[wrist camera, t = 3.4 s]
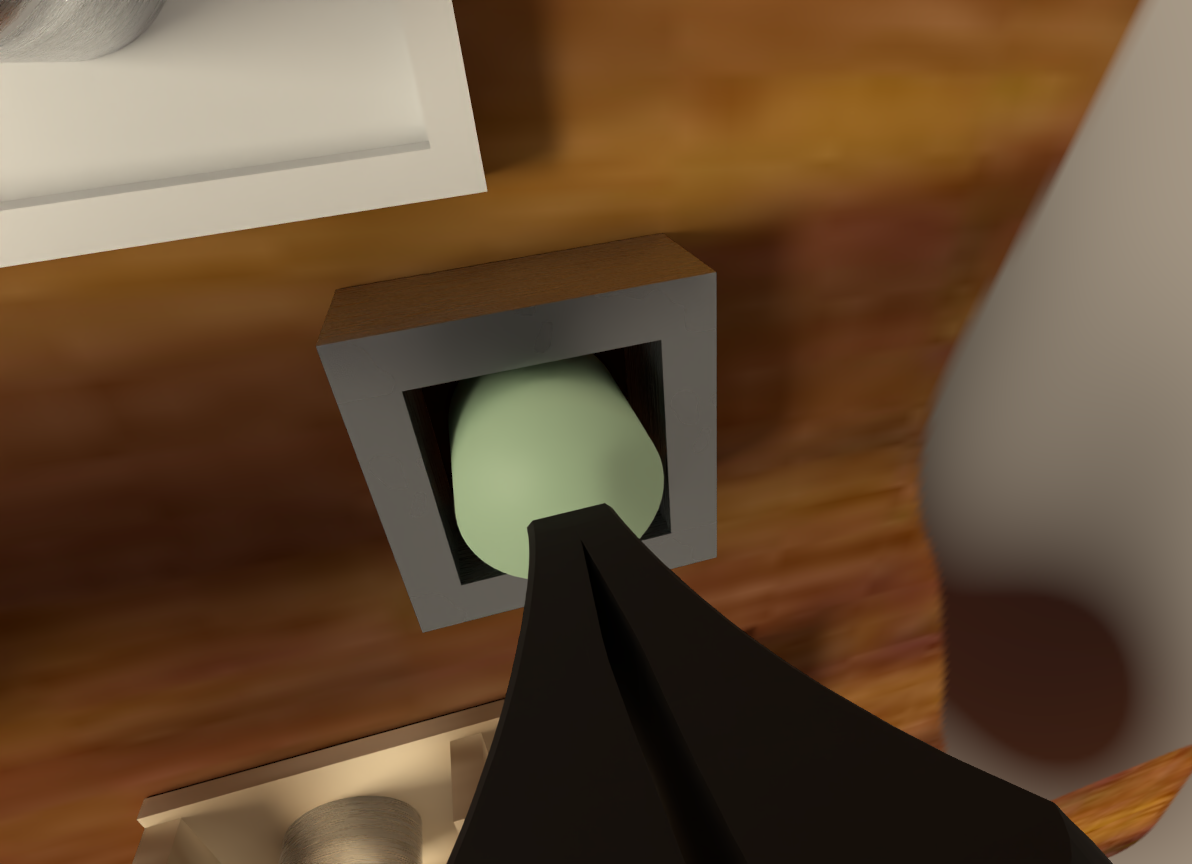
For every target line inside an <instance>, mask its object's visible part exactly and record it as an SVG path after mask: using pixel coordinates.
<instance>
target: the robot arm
mask: <svg viewBox="0 0 1192 864" xmlns="http://www.w3.org/2000/svg"><path fill="white" fill-rule="evenodd" d="M527 532H528V538H529V569H528V582H527V590H526V598H525V605H524V612H523V619H522V625H521V631H520V636H519V640H518V645H517V650H516V654H515V659H514V664H513V668H512V673H511V677H510V681H509V685H508V689H507V693H506V697H505V700H504V704H503V708H502V711H501V715H500V718H499V721H498V725H497V728H496V731H495V735H494V738H493V741H492V744H491V747H490V750H489V753H488V756H487V759H486V762H485V765H484V768H483V771H482V774H481V776H480V779H479V782H478V785H477V788H476V791H475V794H474V796H473V799H472V802H471V804H470V807H469V810H468V813H467V815H466V818H465V820H464V823H463V825H462V828H461V830H460V833H459V835H458V837H457V840H456V842H455V845H454V847H453V849H452V852H451V854H450V857H449V859H448V861H447V864H1112V862H1111V861H1110V860H1109V859H1108V858H1107V857H1106V856H1105V855H1104V853H1103V852H1102V851H1101V850H1100V849H1099V848H1098V847H1097V846H1096V845H1095V843H1094V842H1093V841H1092V840H1091V839H1090V838H1089V837H1088V836H1087V835H1086V834H1085V833H1084V832H1083V831H1081V830H1080V829H1079V828H1078V827H1077V826H1076V825H1075V824H1074V823H1073V822H1072V821H1071V820H1070V819H1069V818H1068V817H1067V816H1066V815H1065V814H1064V813H1063V812H1062V811H1061V809H1060V808H1059V807H1058V806H1057V805H1056V804H1055V803H1053V802H1051V801H1049V800H1047V799H1044V798H1042V797H1040V796H1038V795H1036V794H1033V793H1031V792H1029V791H1027V790H1024V789H1022V788H1020V787H1018V786H1016V785H1013V784H1011V783H1009V782H1007V781H1005V780H1002V779H1000V778H998V777H996V776H993V775H991V774H989V773H987V772H985V771H982V770H980V769H978V768H976V767H974V766H971V765H969V764H967V763H965V762H962V761H960V760H958V759H956V758H954V757H952V756H950V755H948V754H946V753H944V752H942V751H940V750H938V749H936V748H934V747H932V746H930V745H929V744H927V743H925V742H923V741H921V740H919V739H917V738H915V737H913V736H911V735H909V734H907V733H905V732H903V731H901V730H900V729H898V728H896V727H894V726H892V725H890V724H889V723H887V722H885V721H883V720H882V719H880V718H878V717H876V716H875V715H873V714H871V713H870V712H868V711H866V710H864V709H863V708H861V707H859V706H857V705H856V704H854V703H852V702H850V701H849V700H847V699H845V698H844V697H842V696H840V695H838V694H837V693H835V692H833V691H831V690H830V689H828V688H826V687H825V686H823V685H821V684H820V683H818V682H816V681H815V680H813V679H812V678H810V677H809V676H807V675H806V674H804V673H803V672H801V671H800V670H798V669H797V668H795V667H793V666H792V665H790V664H789V663H787V662H786V661H784V660H783V659H781V658H780V657H779V656H777V655H776V654H774V653H773V652H771V651H770V650H769V649H767V648H766V647H764V646H763V645H761V644H760V643H759V642H757V641H756V640H754V639H753V638H752V637H750V636H749V635H748V634H746V633H745V632H744V631H742V630H741V629H740V628H739V627H737V626H736V625H735V624H733V623H732V622H731V621H729V620H728V619H727V618H726V617H725V616H723V615H722V614H721V613H720V612H718V611H717V610H716V609H715V608H714V607H712V606H711V605H710V604H709V603H707V602H706V601H705V600H704V599H703V598H701V597H700V596H699V595H698V594H697V593H696V592H695V591H693V590H692V589H691V588H690V587H689V586H688V585H687V584H686V583H684V582H683V581H682V580H681V579H680V578H679V577H678V576H677V575H676V574H675V573H674V572H673V571H671V570H670V569H669V568H668V567H667V566H666V565H665V564H664V563H663V562H662V561H661V560H660V559H659V558H658V557H657V556H656V555H655V554H654V553H653V552H652V551H651V550H650V549H649V548H648V547H647V546H646V545H645V544H644V543H643V542H642V541H641V540H640V539H639V538H638V537H637V536H636V535H635V534H634V533H633V532H632V530H631V529H630V528H629V527H628V526H627V525H626V524H625V523H624V521H623V520H622V519H621V518H620V517H619V516H618V514H617V513H616V512H615V511H614V509H613V508H612V507H611V506H609V505H607V504H606V503H603V504H599V505H595V506H590V507H586V508H582V509H578V510H574V511H570V512H566V513H561V514H557V515H553V516H549V517H545V518H541V519H537V520H533V521H532V522H531V523H530V524H529V525H528V527H527Z"/></svg>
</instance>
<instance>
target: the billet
mask: <svg viewBox="0 0 1192 864" xmlns="http://www.w3.org/2000/svg"><path fill="white" fill-rule="evenodd" d="M166 1H167V0H0V63H33V62H75V61H84V60H89V59H94V58H99V57H102V56H105V55H107V54H110V53H113V52H116V51H118V50H119V49H121V48H123V47H125V46H126V45H128V44H130V43H132V42H133V41H134V40H135V39H137V38H138V37H139V36H140V35H141V34H143V33H144V32H145V31H146V30H147V29H148V28H149V26H150V25H151V24H152V23H153V21H154V20H155V19H156V18H157V17H158V15H159V13H160V11H161V9H162V8H163V6H164V4H165V2H166Z"/></svg>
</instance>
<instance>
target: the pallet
mask: <svg viewBox="0 0 1192 864" xmlns="http://www.w3.org/2000/svg"><path fill="white" fill-rule="evenodd" d="M504 700H505V699H503V700H500V701H496V702H492V703H489V704H485V705H482V706H478V707H474V708H471V709H467V710H464V711H460V712H456V713H453V714H449V715H446V716H442V717H438V718H435V719H431V720H428V721H424V722H420V723H417V724H413V725H410V726H406V727H402V728H399V729H395V730H392V731H388V732H384V733H381V734H377V735H374V736H370V737H366V738H363V739H359V740H356V741H352V742H348V743H345V744H341V745H338V746H334V747H330V748H327V749H323V750H320V751H316V752H312V753H309V754H305V755H302V756H298V757H294V758H291V759H287V760H284V761H280V762H276V763H273V764H269V765H266V766H262V767H258V768H255V769H251V770H248V771H244V772H240V773H237V774H233V775H230V776H226V777H222V778H219V779H215V780H212V781H208V782H204V783H201V784H197V785H194V786H190V787H186V788H183V789H179V790H176V791H172V792H168V793H165V794H161V795H158V796H154V797H150V798H147V799H144V801H143V804H142V806H141V809H140V812H139V815H138V817H137V820H138V822H139V823H140V824H141V825H142V826H143V827H144V828H145V830H144V832H143V835H142V838H141V841H140V844H139V846H138V849H137V852H136V855H135V858H134V860H133V863H132V864H279V860H280V854H281V848H282V842H283V838H284V835H285V833H286V831H287V829H288V828H289V827H290V825H291V824H292V823H293V822H294V821H295V820H297V819H298V818H299V817H300V816H302V815H303V814H305V813H306V812H308V811H310V810H312V809H314V808H316V807H318V806H321V805H323V804H326V803H329V802H332V801H335V800H339V799H343V798H349V797H356V796H384V797H390V798H394V799H398V800H401V801H403V802H405V803H408V804H409V805H411V806H412V807H414V808H415V809H416V810H417V811H418V813H419V814H420V816H421V819H422V859H423V864H447V861H448V859H449V857H450V854H451V852H452V849H453V847H454V845H455V842H456V840H457V837H458V835H459V833H460V830H461V828H462V825H463V823H464V820H465V818H466V815H467V813H468V810H469V807H470V804H471V802H472V799H473V796H474V794H475V791H476V788H477V785H478V782H479V779H480V776H481V774H482V771H483V768H484V765H485V762H486V759H487V756H488V753H489V750H490V747H491V744H492V741H493V738H494V735H495V731H496V728H497V725H498V721H499V718H500V715H501V711H502V708H503V704H504Z"/></svg>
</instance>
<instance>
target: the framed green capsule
mask: <svg viewBox="0 0 1192 864" xmlns="http://www.w3.org/2000/svg"><path fill="white" fill-rule="evenodd" d="M622 347H624V357H625V369H626V380H627V391H628V403H629V405H630V406H631V408H632V410H633V411H634V413H635V414H636V416H637V418H638V419H639V421H640V423H641V424H642V426H643V428H644V429H645V431H646V433H647V434H648V436H649V437H650V439H651V441H652V442H653V444H654V446H655V448H656V450H657V452H658V454H659V456H660V459H661V463H662V466H663V473H664V488H663V494H662V499H661V502H660V506H659V509H658V511H657V513H656V515H655V517H654V519H653V521H652V523H651V524H650V526H649V527H648V529H647V530H646V531H645V533H644V534H643V535H642V536H641V538H640V540H641V541H642V542H643V543H644V544H645V545H646V546H647V547H648V548H649V549H650V550H651V551H652V552H653V553H654V554H655V555H656V556H657V557H658V558H659V559H660V560H661V561H662V562H663V563H664V564H665V565H666V566H667V567H668V568H669V569H673V568H676V567H680V566H684V565H688V564H692V563H696V562H700V561H704V560H708V559H711V558H715V557H717V298H716V271H714V270H713V269H712V268H710V267H709V266H707V265H706V264H705V263H703V262H702V261H700V260H699V259H698V258H696V257H695V256H693V255H692V254H691V253H689V252H688V251H687V250H685V249H684V248H682V247H681V246H680V245H678V244H677V243H675V242H674V241H673V240H671V239H670V238H668V237H667V236H666V235H664V234H663V233H661V234H655V235H649V236H643V237H638V238H632V239H626V240H620V241H615V242H609V243H603V244H597V245H591V246H586V247H580V248H574V249H568V250H563V251H557V252H551V253H545V254H540V255H534V256H528V257H522V258H516V259H511V260H505V261H499V262H493V263H488V264H482V265H476V266H470V267H465V268H459V269H453V270H447V271H441V272H436V273H430V274H424V275H418V276H413V277H407V278H401V279H395V280H389V281H384V282H378V283H372V284H366V285H361V286H355V287H349V288H343V289H338V290H336V291H335V294H334V297H333V300H332V302H331V305H330V308H329V311H328V314H327V316H326V319H325V322H324V325H323V328H322V330H321V333H320V336H319V339H318V342H317V344H316V348H317V351H318V354H319V356H320V359H321V362H322V364H323V367H324V370H325V372H326V375H327V378H328V380H329V383H330V386H331V388H332V391H333V394H334V396H335V399H336V402H337V404H338V407H339V410H340V412H341V415H342V418H343V421H344V423H345V426H346V429H347V431H348V434H349V437H350V439H351V442H352V445H353V447H354V450H355V453H356V455H357V458H358V461H359V463H360V466H361V469H362V471H363V474H364V477H365V479H366V482H367V485H368V487H369V490H370V493H371V496H372V498H373V501H374V504H375V506H376V509H377V512H378V514H379V517H380V520H381V522H382V525H383V528H384V530H385V533H386V536H387V538H388V541H389V544H390V546H391V549H392V552H393V554H394V557H395V560H396V562H397V565H398V568H399V571H400V573H401V576H402V579H403V581H404V584H405V587H406V589H407V592H408V595H409V597H410V600H411V603H412V605H413V608H414V611H415V613H416V616H417V619H418V621H419V624H420V627H421V629H422V632H427V631H431V630H435V629H439V628H443V627H447V626H451V625H455V624H458V623H462V622H466V621H470V620H474V619H478V618H482V617H486V616H490V615H494V614H497V613H501V612H505V611H509V610H513V609H517V608H521V607H524V605H525V598H526V590H527V582H528V579H525V578H520V577H516V576H512V575H509V574H506V573H503V572H501V571H499V570H497V569H495V568H493V567H491V566H490V565H488V564H487V563H485V562H484V561H482V560H481V559H480V558H479V557H478V556H477V555H475V554H474V552H473V551H472V550H471V549H470V548H469V546H468V545H467V544H466V542H465V540H464V539H463V537H462V535H461V533H460V530H459V527H458V525H457V520H456V515H455V505H454V500H453V496H452V493H451V489H450V486H449V482H448V479H447V475H446V472H445V468H444V465H443V461H442V458H441V454H440V451H439V447H438V444H437V440H436V437H435V433H434V430H433V426H432V423H431V419H430V416H429V412H428V409H427V405H426V402H425V398H424V395H423V391H422V387H427V386H432V385H437V384H442V383H447V382H452V381H457V380H462V379H467V378H472V377H477V376H482V375H487V374H492V373H497V372H502V371H507V370H512V369H517V368H522V367H527V366H532V365H537V364H542V363H547V362H552V361H557V360H562V359H567V358H572V357H577V356H582V355H587V354H592V353H597V352H602V351H607V350H612V349H617V348H622Z"/></svg>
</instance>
